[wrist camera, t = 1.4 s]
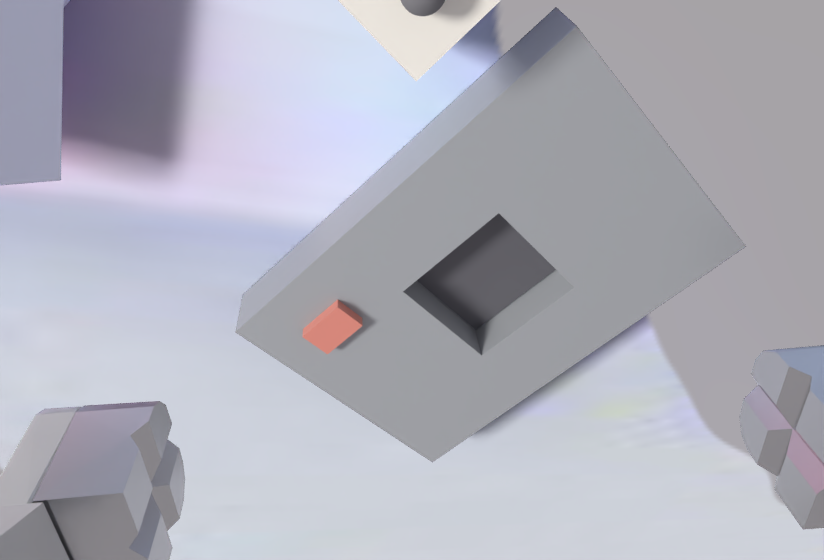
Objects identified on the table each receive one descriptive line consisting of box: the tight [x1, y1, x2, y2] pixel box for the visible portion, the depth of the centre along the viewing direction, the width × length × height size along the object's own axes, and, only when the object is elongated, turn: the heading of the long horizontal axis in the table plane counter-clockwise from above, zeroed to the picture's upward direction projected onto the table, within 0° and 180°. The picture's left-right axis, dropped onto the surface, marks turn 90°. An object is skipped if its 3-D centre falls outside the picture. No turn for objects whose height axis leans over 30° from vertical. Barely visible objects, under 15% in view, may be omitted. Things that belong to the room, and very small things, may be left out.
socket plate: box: [235, 8, 746, 462], centre depth 33 cm, size 20×14×4 cm
